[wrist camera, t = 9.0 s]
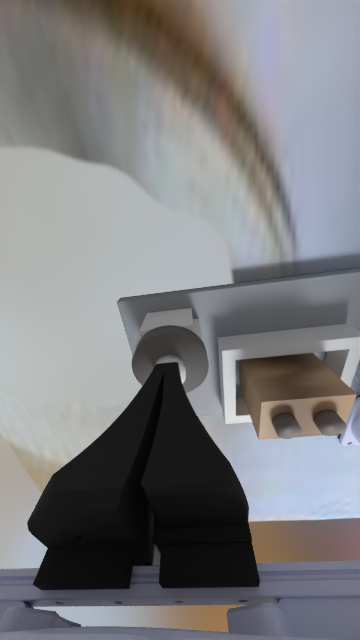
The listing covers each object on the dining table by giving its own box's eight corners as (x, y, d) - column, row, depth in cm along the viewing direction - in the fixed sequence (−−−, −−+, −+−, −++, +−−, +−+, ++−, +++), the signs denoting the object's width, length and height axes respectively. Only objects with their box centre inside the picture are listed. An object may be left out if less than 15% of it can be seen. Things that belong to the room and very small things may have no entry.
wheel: (200, 304, 15) (207, 337, 10) (204, 355, 17) (212, 401, 12) (137, 311, 15) (118, 346, 11) (150, 361, 17) (139, 407, 13)
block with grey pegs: (309, 349, 17) (367, 404, 11) (302, 383, 18) (350, 445, 13) (240, 356, 17) (266, 412, 12) (240, 388, 19) (262, 450, 13)
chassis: (373, 266, 14) (427, 276, 11) (333, 397, 20) (361, 427, 17) (120, 297, 16) (105, 314, 13) (153, 411, 22) (147, 442, 19)
